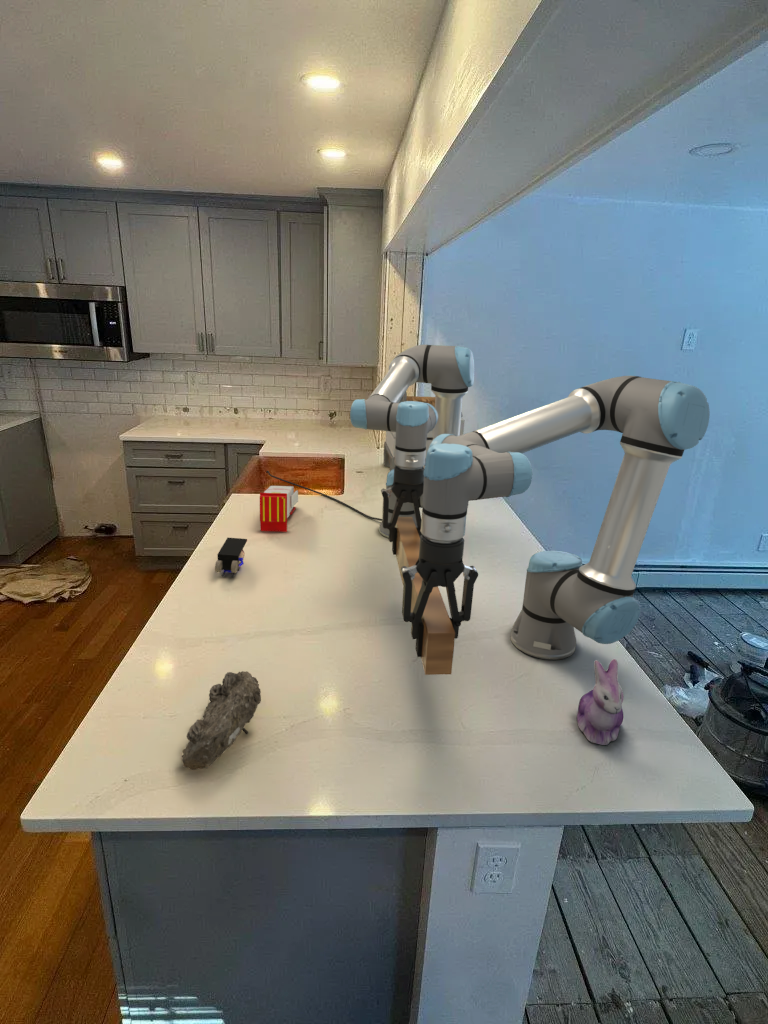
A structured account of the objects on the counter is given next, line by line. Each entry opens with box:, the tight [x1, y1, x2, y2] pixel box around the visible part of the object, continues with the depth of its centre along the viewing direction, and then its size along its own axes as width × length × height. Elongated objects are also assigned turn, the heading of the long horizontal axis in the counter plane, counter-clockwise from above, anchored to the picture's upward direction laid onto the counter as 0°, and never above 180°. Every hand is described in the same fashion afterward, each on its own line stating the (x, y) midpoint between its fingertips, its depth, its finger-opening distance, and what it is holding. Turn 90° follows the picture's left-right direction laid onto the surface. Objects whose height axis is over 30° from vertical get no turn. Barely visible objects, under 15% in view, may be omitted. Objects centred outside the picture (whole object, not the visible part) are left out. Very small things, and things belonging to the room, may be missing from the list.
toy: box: [259, 485, 299, 533], centre depth 208 cm, size 12×13×30 cm
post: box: [395, 517, 456, 676], centre depth 124 cm, size 57×5×8 cm, turn 5°
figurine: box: [576, 658, 625, 746], centre depth 107 cm, size 9×10×15 cm
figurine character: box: [214, 537, 248, 578], centre depth 166 cm, size 7×8×15 cm
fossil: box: [181, 670, 262, 771], centre depth 103 cm, size 22×10×15 cm
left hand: (404, 552), depth 147 cm, fingers closed on post, 5 cm apart
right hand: (432, 652), depth 104 cm, fingers closed on post, 5 cm apart
